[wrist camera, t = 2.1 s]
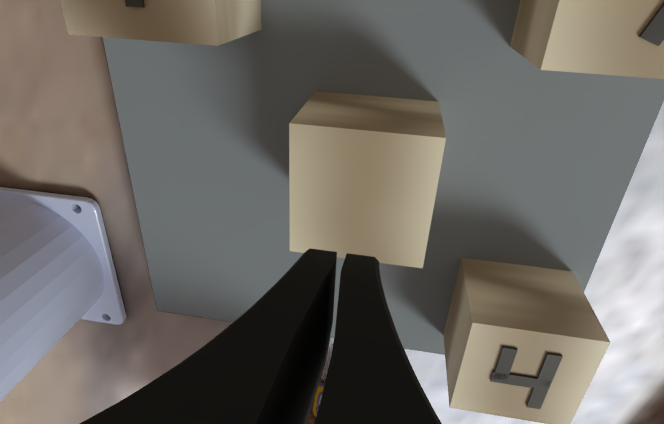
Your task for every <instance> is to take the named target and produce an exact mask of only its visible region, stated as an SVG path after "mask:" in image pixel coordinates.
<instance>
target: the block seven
mask: <svg viewBox="0 0 664 424" xmlns="http://www.w3.org/2000/svg"><path fill="white" fill-rule="evenodd" d="M510 47H511V48H512V49H514V50H515V51H516V52H518V53H519V54H520V55H522V56H523V57H524V58H526V59H527V60H528V61H529V62H531V63H532V64H533V65H535V66H536V67H537V68H539V69H540V70H549V71H562V72H575V73H589V74H602V75H616V76H629V77H642V78H656V79H664V0H520V5H519V9H518V13H517V18H516V22H515V26H514V31H513V35H512V39H511V44H510Z"/></svg>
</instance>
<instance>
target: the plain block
mask: <svg viewBox="0 0 664 424" xmlns="http://www.w3.org/2000/svg"><path fill="white" fill-rule="evenodd" d="M445 142H446V135H445V130H444V125H443V120H442V115H441V111H440V106H439V102H438V101H426V100H414V99H402V98H391V97H379V96H367V95H355V94H344V93H332V92H320V91H315V92H314V94H313V95H312V96H311V97H310V99H309V100H308V101H307V102H306V103H305V105H304V106H303V107H302V108H301V110H300V111H299V112H298V113H297V114H296V116H295V117H294V118H293V119H292V121H291V122H290V123H289V191H290V251H293V252H301V253H304V252H306V251H307V250H308V249H318V250H326V251H333V252H337V257H339V258H345V257H346V254H347V253H349V254H357V255H365V256H372V257H375V258H376V259H377V260H378V261H379V263H385V264H393V265H400V266H408V267H416V268H423V264H424V258H425V253H426V247H427V242H428V236H429V231H430V225H431V219H432V214H433V208H434V203H435V197H436V192H437V186H438V181H439V175H440V170H441V164H442V158H443V153H444V147H445Z"/></svg>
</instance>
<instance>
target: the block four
mask: <svg viewBox="0 0 664 424" xmlns="http://www.w3.org/2000/svg"><path fill="white" fill-rule="evenodd" d="M443 336H444V347H445V359H446V371H447V382H448V394H449V405H450V408H456V409H462V410H468V411H474V412H480V413H486V414H492V415H498V416H504V417H510V418H516V419H522V420H528V421H534V422H540V423H546V424H571V422H572V420H573V418H574V415H575V413H576V411H577V409H578V407H579V405H580V403H581V401H582V399H583V397H584V395H585V393H586V391H587V389H588V387H589V385H590V383H591V381H592V379H593V377H594V375H595V373H596V371H597V368H598V366H599V364H600V362H601V360H602V358H603V356H604V354H605V352H606V350H607V348H608V346H609V344H610V341H609V339H608V337H607V335H606V333H605V332H604V330H603V328H602V326H601V324H600V322H599V320H598V318H597V317H596V315H595V313H594V311H593V309H592V307H591V305H590V304H589V302H588V300H587V298H586V296H585V294H584V292H583V291H582V289H581V287H580V285H579V283H578V281H577V279H576V277H575V276H574V274H573V272H572V271H565V270H557V269H549V268H541V267H533V266H525V265H517V264H509V263H501V262H493V261H485V260H477V259H469V258H461V261H460V265H459V270H458V274H457V278H456V283H455V287H454V291H453V296H452V300H451V304H450V309H449V313H448V317H447V322H446V326H445V330H444V335H443Z"/></svg>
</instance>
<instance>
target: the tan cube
mask: <svg viewBox="0 0 664 424" xmlns="http://www.w3.org/2000/svg"><path fill="white" fill-rule="evenodd" d="M60 1H61V5H62V10H63V14H64V18H65V22H66V27H67V31H68V35H80V36H93V37H106V38H120V39H133V40H147V41H160V42H173V43H187V44H200V45H214V46H219V45H222V44H224V43H227V42H230V41H232V40H235V39H238V38H240V37H243V36H246V35H248V34H251V33H254V32H256V31H259V30H262V24H261V0H60Z"/></svg>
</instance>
